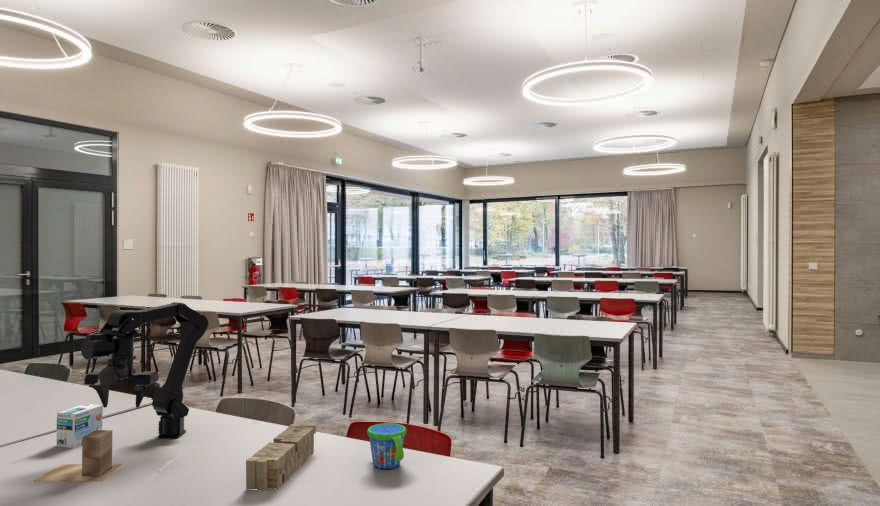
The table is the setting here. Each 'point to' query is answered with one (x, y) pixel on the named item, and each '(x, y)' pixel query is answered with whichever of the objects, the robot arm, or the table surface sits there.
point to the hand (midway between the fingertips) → (121, 407)
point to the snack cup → (386, 444)
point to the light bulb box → (77, 424)
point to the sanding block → (97, 453)
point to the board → (75, 473)
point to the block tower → (280, 457)
